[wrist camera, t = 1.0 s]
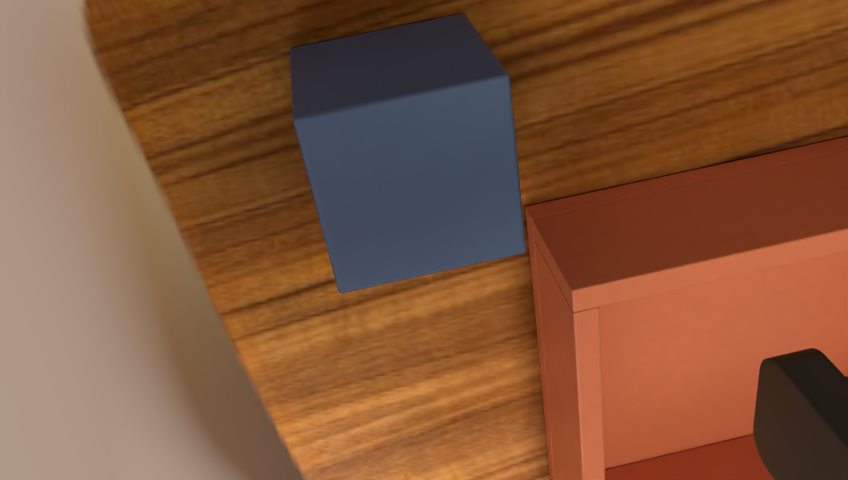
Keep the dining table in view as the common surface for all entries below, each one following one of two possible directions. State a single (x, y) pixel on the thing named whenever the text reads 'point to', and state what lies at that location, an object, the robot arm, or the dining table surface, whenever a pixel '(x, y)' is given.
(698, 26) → the dining table surface
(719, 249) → the red bin
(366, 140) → the blue block
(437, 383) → the dining table surface
